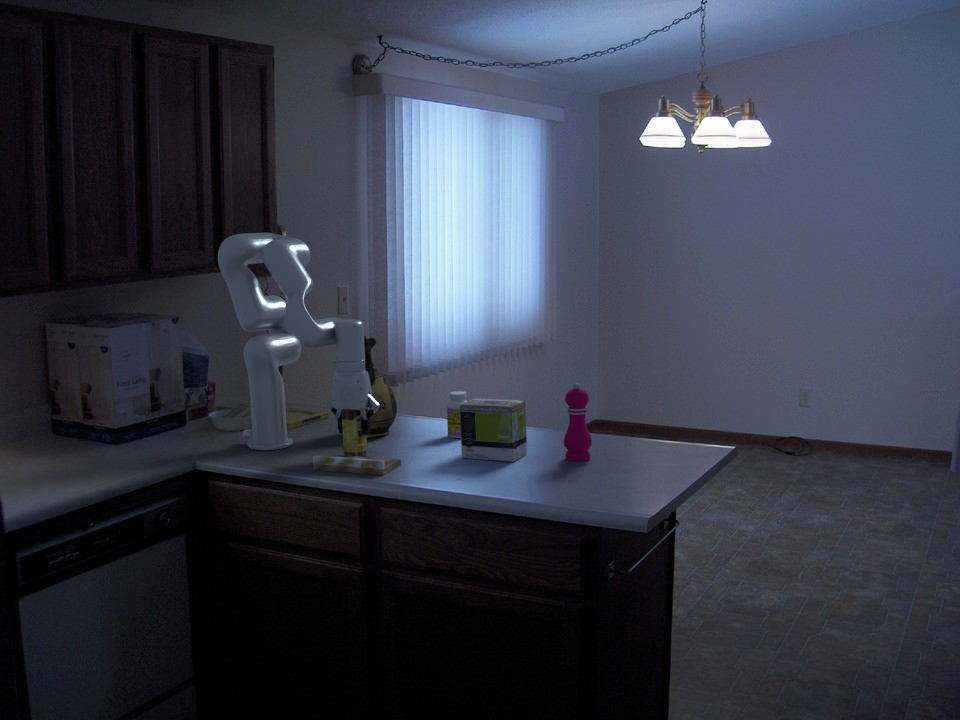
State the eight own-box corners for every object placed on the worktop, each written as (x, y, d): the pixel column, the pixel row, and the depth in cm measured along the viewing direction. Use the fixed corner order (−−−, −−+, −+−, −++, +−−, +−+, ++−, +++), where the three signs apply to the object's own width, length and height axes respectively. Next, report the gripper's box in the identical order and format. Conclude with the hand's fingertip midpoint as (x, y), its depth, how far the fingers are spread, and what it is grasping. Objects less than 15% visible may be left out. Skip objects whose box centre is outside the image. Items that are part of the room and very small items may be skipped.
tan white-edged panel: (313, 469, 256) (312, 456, 256) (333, 460, 266) (332, 447, 265) (383, 475, 249) (382, 461, 248) (401, 465, 258) (400, 451, 258)
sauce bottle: (362, 459, 265) (359, 385, 262) (340, 459, 266) (336, 385, 263) (370, 453, 271) (367, 381, 268) (348, 453, 273) (344, 381, 270)
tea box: (527, 454, 266) (526, 399, 264) (513, 463, 257) (511, 406, 255) (476, 450, 272) (474, 396, 270) (460, 458, 263) (458, 403, 261)
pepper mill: (560, 461, 257) (559, 384, 254) (568, 454, 264) (566, 379, 261) (588, 463, 255) (587, 385, 252) (594, 456, 261) (593, 380, 258)
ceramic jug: (352, 428, 303) (348, 330, 299) (402, 429, 301) (398, 329, 296) (337, 442, 286) (331, 338, 282) (390, 442, 284) (385, 337, 280)
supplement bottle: (443, 437, 288) (441, 393, 286) (457, 433, 293) (455, 389, 291) (461, 440, 284) (459, 395, 282) (475, 435, 289) (474, 391, 287)
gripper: (315, 367, 265) (319, 434, 268) (373, 369, 258) (376, 437, 261) (329, 363, 272) (333, 428, 274) (386, 365, 265) (389, 431, 268)
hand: (354, 432), depth 268 cm, fingers closed on sauce bottle, 6 cm apart
